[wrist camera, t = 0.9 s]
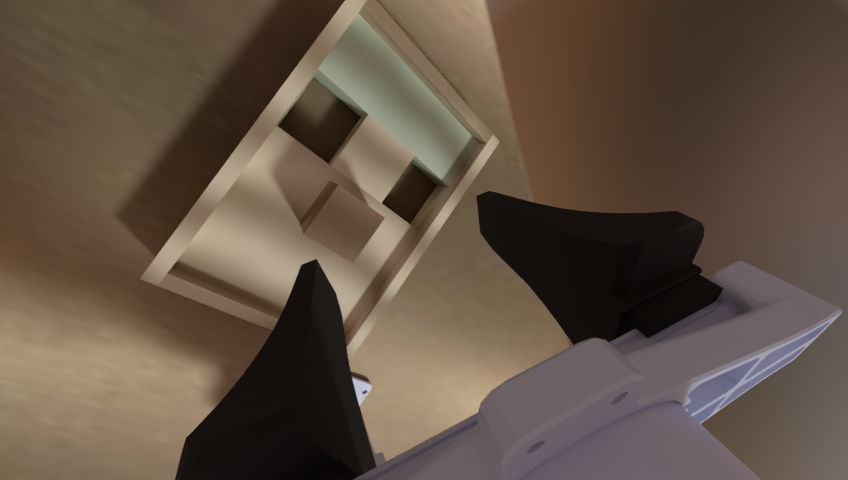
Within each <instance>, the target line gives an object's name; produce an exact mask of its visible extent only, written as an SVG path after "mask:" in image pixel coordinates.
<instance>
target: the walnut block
mask: <svg viewBox="0 0 848 480" xmlns="http://www.w3.org/2000/svg"><path fill="white" fill-rule="evenodd" d="M384 219H385V217H383V216H382V215H380V214H379V213H378V212H376V211H375V210H373V209H372V208H371V207H369V206H368V205H366V204H365V203H364V202H362V201H361V200H359V199H358V198H357V197H355V196H354V195H352V194H351V193H350V192H348V191H347V190H345V189H344V188H343V187H341V186H340V185H338V184H336V183H334V182H331V181H329V182H328V183H327V185H326V186H325V188H324V189H323V190H322V192H321V193H320V195H319V196H318V197H317V199H316V200H315V202H314V203H313V204H312V206H311V207H310V209H309V210H308V211H307V213H306V214H305V216H304V217H303V218H302V220H301V221H300V226H301V229H302V232H303V234H304V235H306V236H307V237H309V238H311V239H312V240H314V241H316V242H318V243H319V244H321V245H323V246H324V247H326V248H328V249H330V250H331V251H333V252H335V253H336V254H338V255H340V256H342V257H343V258H345V259H347V260H349V261H350V262H352V263H354V262H355V260H356V259H357V257H358V256H359V254H360V253H361V252H362V250H363V249H364V247H365V246H366V244H367V243H368V241H369V240H370V239H371V237H372V236H373V234H374V233H375V231H376V230H377V229H378V227H379V226H380V224H381V223H382V221H383V220H384Z"/></svg>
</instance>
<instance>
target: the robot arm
mask: <svg viewBox="0 0 848 480" xmlns="http://www.w3.org/2000/svg"><path fill="white" fill-rule="evenodd" d="M477 205H478V214H479V224H480V233H481V234H482V236H483V237H484V238H485V240H486V241H487V243H488V244H489V245H490V246H491V248H492V249H493V250H494V251H495V252H496V253H497V254H498V255H499V256H500V257H501V258H502V259H503V260H504V261H505V262H506V263H507V264H508V265H509V266H510V267H511V268H512V269H513V270H514V271H515V272H516V273H517V274H518V275H519V276H520V277H521V278H522V279H523V280H524V281H525V282H526V283H527V284H528V285H529V286H530V287H531V289H532V290H533V291H534V292H535V294H536V295H537V296H538V297H539V299H540V300H541V301H542V302H543V304H544V305H545V306H546V307H547V309H548V310H549V311H550V313H551V314H552V315H553V317H554V318H555V319H556V321H557V322H558V323H559V325H560V326H561V328H562V329H563V330H564V332H565V333H566V335H567V336H568V337H569V339H570V340H571V342H572V343H573V346H571V347H569V348H567V349H566V350H564V351H562V352H560V353H558V354H556V355H554V356H552V357H550V358H548V359H546V360H545V361H543V362H541V363H539V364H537V365H535V366H533V367H531V368H529V369H527V370H525V371H524V372H522V373H520V374H518V375H516V376H514V377H512V378H510V379H508V380H506V381H505V382H504V383H502V384H501V385H499V386H498V387H496V388H495V389H493V390H492V391H491V392H490V393H489V394H488V395H487V396H486V398H485V399H484V400H483V401H482V402H481V404H480V408H479V412H478V413H476V414H475V415H473V416H471V417H469V418H467V419H465V420H463V421H461V422H460V423H458V424H456V425H454V426H452V427H450V428H448V429H447V430H445V431H443V432H441V433H439V434H437V435H435V436H433V437H432V438H430V439H428V440H426V441H424V442H422V443H420V444H419V445H417V446H415V447H413V448H411V449H409V450H407V451H405V452H404V453H402V454H400V455H398V456H396V457H394V458H392V459H391V460H389V461H387V462H386V460H385V457H384V454H383V453H374V450H373V447H372V444H371V440H370V437H369V434H368V431H367V428H366V425H365V422H364V419H363V416H362V413H361V410H360V407H359V406H360V405H361V403H362V402H363V400H364V399H365V397H366V396H367V394H368V393H369V391H370V390H371V388H372V385H371V383H370V382H368V381H365V380H362V379H360V378H357V377H354V376H351V372H350V367H349V361H348V354H347V347H346V340H345V332H344V325H343V319H342V313H341V309H340V305H339V302H338V299H337V295H336V292H335V291H334V289H333V287H332V285H331V284H330V282H329V280H328V278H327V276H326V275H325V273H324V271H323V269H322V268H321V266H320V264H319V262H318V260H317V259H315V260H312V261H310V262H307V263H305V264H302V265H301V267H300V269H299V272H298V275H297V277H296V280H295V283H294V285H293V288H292V291H291V293H290V295H289V298H288V300H287V302H286V305H285V307H284V309H283V311H282V313H281V315H280V317H279V319H278V321H277V323H276V325H275V327H274V329H273V331H272V333H271V334H270V336H269V338H268V339H267V341H266V343H265V344H264V346H263V347H262V349H261V350H260V352H259V353H258V355H257V356H256V357H255V359H254V360H253V362H252V363H251V364H250V366H249V367H248V369H247V370H246V371H245V373H244V374H243V375H242V377H241V378H240V379H239V380H238V382H237V383H236V384H235V385H234V387H233V388H232V389H231V390H230V391H229V392H228V394H227V395H226V396H225V397H224V398H223V400H222V401H221V402H220V403H219V404H218V405H217V406H216V407H215V408H214V410H213V411H212V412H211V413H210V414H209V415H208V416H207V417H206V418H205V419H204V420H203V421H202V422H201V423H200V424H199V425H198V426H197V427H196V429H195V430H194V431H193V432H192V433H191V434H190V435H189V436H188V437H187V438H186V440H185V443H184V447H183V450H182V454H181V457H180V462H179V466H178V470H177V474H176V478H175V480H760V479H759V478H758V477H757V476H756V475H755V474H754V473H753V472H752V471H751V470H749V469H748V468H747V467H746V466H745V465H744V464H743V463H742V462H741V461H740V460H739V459H737V458H736V457H735V456H734V455H733V454H732V453H731V452H730V451H729V450H728V449H727V448H725V446H723V445H722V444H721V443H720V442H719V441H718V440H717V439H716V438H715V437H714V436H713V435H712V434H710V433H709V432H708V431H707V430H706V429H705V428H704V427H703V426H702V425H701V423H702V422H704V421H705V420H706V419H708V418H709V417H711V416H712V415H713V414H715V413H716V412H718V411H719V410H720V409H722V408H723V407H725V406H726V405H728V404H729V403H730V402H732V401H733V400H734V399H736V398H737V397H739V396H740V395H742V394H743V393H744V392H746V391H747V390H749V389H750V388H752V387H753V386H755V385H756V384H758V383H759V382H760V381H762V380H763V379H765V378H766V377H768V376H769V375H771V374H772V373H774V372H775V371H777V370H779V369H780V368H782V367H783V366H785V365H786V364H788V363H789V362H791V361H792V360H794V359H795V358H796V357H797V356H798V355H799V354H800V353H801V352H802V351H803V350H804V349H805V348H806V347H808V345H809V344H811V342H813V341H814V340H815V339H816V338H817V337H818V336H819V335H820V334H821V333H822V332H823V331H824V330H825V329H826V328H827V327H828V326H829V325H830V324H831V323H832V322H833V321H834V320H835V319H836V318H837V317H838V316H839V315H840V314H841V313H842V311H841V309H840V308H838V307H836V306H834V305H831V304H830V303H828V302H826V301H823V300H821V299H819V298H817V297H815V296H813V295H811V294H809V293H807V292H805V291H803V290H801V289H799V288H797V287H794V286H792V285H790V284H788V283H786V282H784V281H782V280H780V279H778V278H776V277H774V276H772V275H770V274H768V273H766V272H764V271H762V270H759V269H757V268H755V267H753V266H751V265H749V264H747V263H745V262H743V261H738V262H736V263H734V264H732V265H730V266H728V267H726V268H724V269H722V270H720V271H718V272H717V273H716V274H714V275H713V276H712V277H711V278H710V279H709V280H708V279H706V278H704V277H703V276H701V275H699V274H700V273H701V272H702V270H701V268H700V267H698V266H696V265H694V264H692V262H693V259H694V257H695V255H696V253H697V251H698V249H699V247H700V244H701V242H702V239H703V236H704V227H703V224H702V223H701V222H699V221H698V220H695V219H693V218H691V217H689V216H686V215H684V214H682V213H680V212H677V211H669V212H653V213H599V212H586V211H577V210H569V209H562V208H557V207H551V206H547V205H542V204H538V203H533V202H529V201H525V200H522V199H518V198H514V197H511V196H507V195H503V194H499V193H495V192H490V191H488V192H485V193H483V194H480V195H478V196H477ZM364 390H366V391H364ZM363 391H364V392H363Z"/></svg>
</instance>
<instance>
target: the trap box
mask: <svg viewBox="0 0 848 480" xmlns="http://www.w3.org/2000/svg"><path fill="white" fill-rule="evenodd" d="M314 77H315V78H316V79H317V80H318V81H319V82H321V83H322V84H323V85H324V86H325V87H326V88H327V89H329V90H330V91H331V92H332V93H333V94H334V95H335V96H336V97H338V98H339V99H340V100H341V101H342V102H343V103H344V104H346V105H347V106H348V107H349V108H350V109H351V110H352V111H354V112H355V113H356V114H357V115H358V116H359V117H360V120H359V121H358V122H357V124H356V125H355V127H354V128H353V129H352V131H351V132H350V134H349V135H348V136H347V138H346V139H345V141H344V142H343V143H342V145H341V146H340V148H339V149H338V150H337V152H336V153H335V155H334V156H333V157H332V159H331V160H330V162H329V163H326V162H325V161H324V160H322V159H321V158H320V157H318V156H317V155H316V154H314V153H313V152H312V151H310V150H309V149H308V148H306V147H305V146H304V145H302V144H301V143H299V142H298V141H297V140H295V139H294V138H293V137H291V136H290V135H289V134H287V133H286V132H285V131H283V130H282V129H281V128H279V127H278V126H279V124H280V123H281V122H282V120H283V119H284V118H285V116H286V115H287V113H288V112H289V111H290V109H291V108H292V107H293V105H294V104H295V103H296V101H297V100H298V98H299V97H300V96H301V94H302V93H303V92H304V90H305V89H306V87H307V86H308V85H309V83H310V82H311V81H312V79H313V78H314ZM498 144H499V141H498V139H497V138H496V137H495V136H494V135H493V134H492V133H491V131H490V130H489V129H488V128H487V127H486V126H485V124H484V123H483V122H482V121H481V120H480V119H479V118H478V116H477V115H476V114H475V113H474V112H473V111H472V110H471V108H470V107H469V106H468V105H467V104H466V103H465V102H464V100H463V99H462V98H461V97H460V96H459V95H458V94H457V92H456V91H455V90H454V89H453V88H452V87H451V85H450V84H449V83H448V82H447V81H446V80H445V79H444V77H443V76H442V75H441V74H440V73H439V72H438V71H437V69H436V68H435V67H434V66H433V65H432V64H431V63H430V61H429V60H428V59H427V58H426V57H425V56H424V55H423V53H422V52H421V51H420V50H419V49H418V48H417V46H416V45H415V44H414V43H413V42H412V41H411V40H410V38H409V37H408V36H407V35H406V34H405V33H404V32H403V30H402V29H401V28H400V27H399V26H398V25H397V24H396V22H395V21H394V20H393V19H392V18H391V17H390V16H389V14H388V13H387V12H386V11H385V10H384V9H383V7H382V6H381V5H380V4H379V3H378V2H377V1H376V0H345V1H344V2H343V4H342V5H341V7H340V8H339V9H338V11H337V12H336V13H335V15H334V16H333V17H332V19H331V20H330V21H329V23H328V24H327V26H326V27H325V28H324V30H323V31H322V32H321V34H320V35H319V36H318V38H317V39H316V40H315V42H314V43H313V45H312V46H311V47H310V49H309V50H308V51H307V53H306V54H305V55H304V57H303V58H302V59H301V61H300V62H299V63H298V65H297V66H296V68H295V69H294V70H293V72H292V73H291V74H290V76H289V77H288V78H287V80H286V81H285V82H284V84H283V85H282V87H281V88H280V89H279V91H278V92H277V93H276V95H275V96H274V97H273V99H272V100H271V101H270V103H269V104H268V106H267V107H266V108H265V110H264V111H263V112H262V114H261V115H260V116H259V118H258V119H257V120H256V122H255V123H254V125H253V126H252V127H251V129H250V130H249V131H248V133H247V134H246V135H245V137H244V138H243V139H242V141H241V142H240V143H239V145H238V146H237V148H236V149H235V150H234V152H233V153H232V154H231V156H230V157H229V158H228V160H227V161H226V162H225V164H224V165H223V167H222V168H221V169H220V171H219V172H218V173H217V175H216V176H215V177H214V179H213V180H212V181H211V183H210V184H209V186H208V187H207V188H206V190H205V191H204V192H203V194H202V195H201V196H200V198H199V199H198V200H197V202H196V203H195V205H194V206H193V207H192V209H191V210H190V211H189V213H188V214H187V215H186V217H185V218H184V219H183V221H182V222H181V223H180V225H179V226H178V228H177V229H176V230H175V232H174V233H173V234H172V236H171V237H170V238H169V240H168V241H167V242H166V244H165V245H164V247H163V248H162V249H161V251H160V252H159V253H158V255H157V256H156V257H155V259H154V260H153V261H152V263H151V264H150V266H149V267H148V268H147V270H146V271H145V272H144V274H143V275H142V276H141V278H140V279H141V280H143V281H146V282H149V283H151V284H154V285H156V286H159V287H161V288H164V289H167V290H169V291H172V292H174V293H177V294H179V295H182V296H185V297H187V298H190V299H192V300H195V301H197V302H200V303H203V304H205V305H208V306H210V307H213V308H215V309H218V310H221V311H223V312H226V313H228V314H231V315H233V316H236V317H239V318H241V319H244V320H246V321H249V322H251V323H254V324H257V325H259V326H262V327H264V328H267V329H269V330H272V331H273V329H274V327H275V325H276V323H277V321H278V319H279V317H280V315H281V313H282V311H283V309H284V307H285V305H286V302H287V300H288V298H289V295H290V293H291V291H292V288H293V285H294V283H295V280H296V277H297V275H298V272H299V269H300V267H301V265H302V264H305V263H307V262H310V261H312V260H315V259H317V260H318V262H319V264H320V266H321V268H322V269H323V271H324V273H325V275H326V276H327V278H328V280H329V282H330V284H331V285H332V287H333V289H334V291H335V292H336V295H337V299H338V302H339V305H340V309H341V313H342V319H343V325H344V332H345V340H346V347H347V354H348V360H349V361H350V360H351V358H352V357H353V355H354V354H355V352H356V351H357V349H358V348H359V347H360V345H361V344H362V342H363V341H364V339H365V338H366V336H367V335H368V333H369V332H370V330H371V329H372V328H373V326H374V325H375V323H376V322H377V320H378V319H379V317H380V316H381V314H382V313H383V311H384V310H385V309H386V307H387V306H388V304H389V303H390V301H391V300H392V298H393V297H394V295H395V294H396V293H397V291H398V290H399V288H400V287H401V285H402V284H403V282H404V281H405V279H406V278H407V276H408V275H409V274H410V272H411V271H412V269H413V268H414V266H415V265H416V263H417V262H418V260H419V259H420V257H421V256H422V255H423V253H424V252H425V250H426V249H427V247H428V246H429V244H430V243H431V241H432V240H433V238H434V237H435V236H436V234H437V233H438V231H439V230H440V228H441V227H442V225H443V224H444V222H445V221H446V219H447V218H448V217H449V215H450V214H451V212H452V211H453V209H454V208H455V206H456V205H457V203H458V202H459V200H460V199H461V198H462V196H463V195H464V193H465V192H466V190H467V189H468V187H469V186H470V184H471V183H472V181H473V180H474V179H475V177H476V176H477V174H478V173H479V171H480V170H481V168H482V167H483V165H484V164H485V163H486V161H487V160H488V158H489V157H490V155H491V154H492V152H493V151H494V149H495V148H496V146H497V145H498ZM410 162H412V163H413V164H414V165H415V166H416V167H417V168H418V169H420V170H421V171H422V172H423V173H424V174H425V175H426V176H428V177H429V178H430V179H431V180H432V181H433V182H434V183H435V184H437V186H436V187H435V189H434V190H433V192H432V193H431V195H430V196H429V198H428V199H427V200H426V202H425V203H424V205H423V206H422V208H421V209H420V211H419V212H418V213H417V215H416V216H415V218H414V219H413V221H412V222H411V224H409V223H408V222H406V221H405V220H404V219H402V218H401V217H399V216H398V215H397V214H395V213H394V212H393V211H391V210H390V209H389V208H387V207H386V206H385V205H383V204H382V202H383V200H384V199H385V198H386V196H387V195H388V193H389V192H390V190H391V189H392V188H393V186H394V185H395V183H396V182H397V180H398V179H399V178H400V176H401V175H402V173H403V172H404V170H405V169H406V168H407V166H408V165H409V163H410ZM329 181H331V182H334V183H336V184H338V185H340V186H341V187H343V188H344V189H345V190H347V191H348V192H350V193H351V194H352V195H354V196H355V197H357V198H358V199H359V200H361V201H362V202H364V203H365V204H366V205H368V206H369V207H371V208H372V209H373V210H375V211H376V212H378V213H379V214H380V215H382V216H383V217H385V219H384V220H383V221H382V223H381V224H380V226H379V227H378V229H377V230H376V231H375V233H374V234H373V236H372V237H371V239H370V240H369V241H368V243H367V244H366V246H365V247H364V249H363V250H362V252H361V253H360V254H359V256H358V257H357V259H356V260H355V262H354V263H352V262H350V261H349V260H347V259H345V258H343V257H342V256H340V255H338V254H336V253H335V252H333V251H331V250H330V249H328V248H326V247H324V246H323V245H321V244H319V243H318V242H316V241H314V240H312V239H311V238H309V237H307V236H306V235H304V234H303V232H302V229H301V226H300V221H301V220H302V218H303V217H304V216H305V214H306V213H307V211H308V210H309V209H310V207H311V206H312V204H313V203H314V202H315V200H316V199H317V197H318V196H319V195H320V193H321V192H322V190H323V189H324V188H325V186H326V185H327V183H328V182H329Z"/></svg>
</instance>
